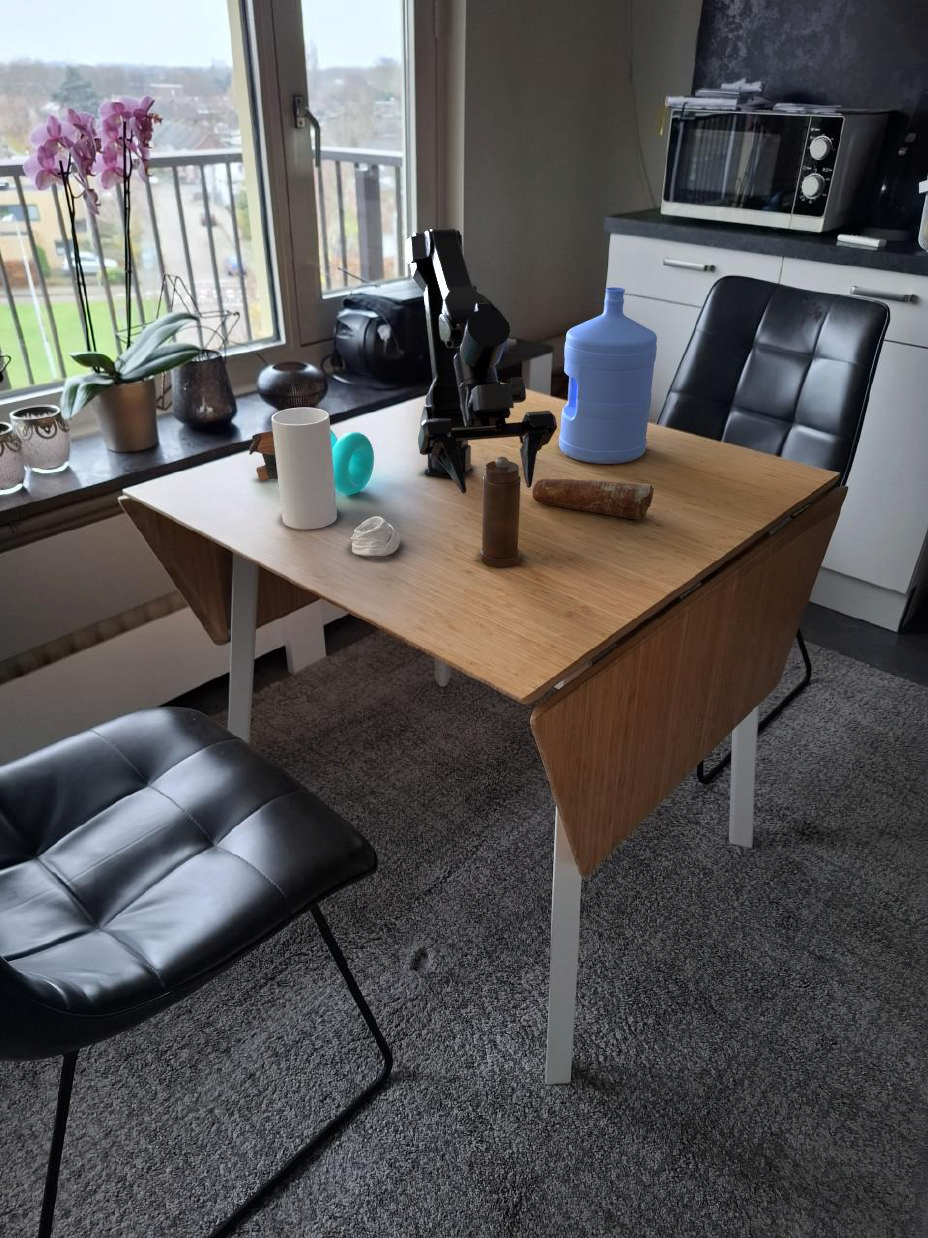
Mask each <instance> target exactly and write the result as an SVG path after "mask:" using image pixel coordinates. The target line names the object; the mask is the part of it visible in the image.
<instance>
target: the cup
mask: <svg viewBox="0 0 928 1238" xmlns="http://www.w3.org/2000/svg"><path fill="white" fill-rule="evenodd" d="M330 420H331V419H330V414H329V412H328V411H326V410H324V409H321V408H316V407H293V408H286V409H283V410H282V409H281V410H279V411H277V412H275V413H273V414H272V416H271V427H272V431H273V438H274V446H275V455H276V464H277V473H278V479H277V482H278V490H279V499H280V508H281V516H282V522H283V524H284V525H285V526H287V527H288V528H292V529H297V530H317V529H321V528H326V527H328V526H330V525H332V524H333V523H335V522H336V521H337V519H338V510H337V509H338V508H337V497H336V488H335V483H334V470H333V457H332V444H331V432H330V429H331V421H330Z"/></svg>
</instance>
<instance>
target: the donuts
mask: <svg viewBox="0 0 928 1238" xmlns="http://www.w3.org/2000/svg"><path fill="white" fill-rule="evenodd" d="M330 432H331V444H332V457H333V470H334V483H335V490H337V491H338V492H340V494H341V493H342V494H344V495H349V496H351V495H356V494H358V493H359V492H361V491H362V490H363V489H364V488H365V487H366V486H367V484H368V483H369V481H370V479H371V477H372V474H373V470H374V464H375V452H374V449H373V444H372V443H371V441H370V439H369V438H368V437H367V436H366V435H365V434H364V433H361V432H359V431H350V432H347V433H344V434H343V435H341V437H339V439H338V437H337V436H336V433H335V432H334V431H333V430H332V428H330Z"/></svg>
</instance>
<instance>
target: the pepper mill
mask: <svg viewBox="0 0 928 1238" xmlns="http://www.w3.org/2000/svg"><path fill="white" fill-rule="evenodd" d="M519 466H520V465H519V464H517V463H516V462H514V461H509V459H508V458H507V457H506V456H499V457H497V458H496V460H493V461H490V462H488V463H486V464H485V469H484V471H485V473H484V475H483V477H482V515H481V516H482V517H481V518H482V519H481V520H482V522H481V523H482V525H481V526H482V527H481V549H480V555H479V557H480V562H481V563H483V564H485V565H487V566H488V567H489V566H490V567H492V568H493V567H494V568H508V567H511V566H514V565H516V564H517V563H519V561H520V549H519V534H520V531H519V530H520V509H521V508H520V507H521V505H520V504H521V503H520V502H521V476H520V475H519V473H520V471H519V469H520V467H519Z"/></svg>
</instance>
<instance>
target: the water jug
mask: <svg viewBox="0 0 928 1238" xmlns="http://www.w3.org/2000/svg"><path fill="white" fill-rule="evenodd" d="M625 292H626V288H623V287H618V286H617V287H613V286H612V287H607V288H605V293H606V295H605V298H604V310H603V312H602V314H600V315H597V316H596V317H593V318H591V319H589V320H586V321H584V322H582V323H580V324H578V325H575V326H573V327H571V328H570V329H569V330H568V331H567V332H566V336H565V342H564V355H563V356H564V367H563V368H564V369H563V371H564V373H565V374H566V375H567V376H568V377H569V378H568V394H567V403H566V404H565V405H564V406H563V408H562V410H561V416H560V419H561V420H560V432H559V435H558V436H559V437H558V446H559V449H560V451H561V452H562V453H563V454H564V455H566V456H567V457H569V458H571V459H574V460H576V461H579V462H585V463H589V464H595V465H596V464H597V465H617V464H625V463H629V462H633V461H635V460H637V459H639V458H641V457H642V456H643V455H644V454H645V452H646V448H647V432H648V425H649V424H648V423H649V416H650V415H649V413H650V409H651V404H652V403H651V402H652V389H653V379H654V370H655V362H656V358H657V348H658V346H657V345H658V344H657V343H658V337H657V333H656V332H655V331H654V330H652V329H650V328H648V327H646V326H644V325H643V324H641V323H639V322H637V321H635V320H634V319H632V318H630V317H628V316H626V315H625V313H624V304H625V298H624V297H625V296H624V294H625Z"/></svg>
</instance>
